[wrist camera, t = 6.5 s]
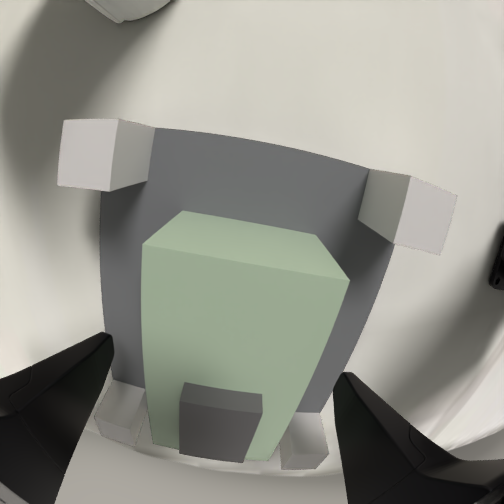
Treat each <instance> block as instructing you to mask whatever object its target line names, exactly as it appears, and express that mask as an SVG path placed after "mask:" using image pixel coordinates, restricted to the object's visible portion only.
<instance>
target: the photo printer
mask: <svg viewBox="0 0 504 504" xmlns="http://www.w3.org/2000/svg"><path fill="white" fill-rule="evenodd" d="M85 1H86V2H87V3H89V4H90V5H91V6H93V7H94V8H95V9H97V10H98V11H99V12H101V13H102V14H103V15H105V16H106V17H108V18H109V19H111V20H112V21H114V22H116V23H122V22H123V21H124V20H129V21H132V20H136V19H139V18H142V17H145V16H147V15H149V14H151V13H153V12H155V11H157V10H158V9H160V8H162V7H163V6H164V5H166V4H167V3H168V2H169V1H171V0H85Z"/></svg>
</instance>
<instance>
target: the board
mask: <svg viewBox="0 0 504 504" xmlns="http://www.w3.org/2000/svg"><path fill="white" fill-rule="evenodd" d="M349 282H350V280H349V279H348V277H347V276H346V274H345V273H344V272H343V270H342V269H341V268H340V266H339V265H338V264H337V262H336V261H335V260H334V258H333V257H332V256H331V254H330V253H329V252H328V250H327V249H326V248H325V246H324V245H323V244H322V242H321V241H320V240H319V238H318V237H317V236H316V235H314V234H309V233H304V232H299V231H294V230H289V229H284V228H278V227H273V226H268V225H262V224H257V223H252V222H246V221H241V220H235V219H229V218H224V217H218V216H212V215H206V214H200V213H194V212H188V211H181V212H180V213H179V214H178V215H176V216H175V217H174V218H173V219H172V220H170V221H169V222H168V223H167V224H165V225H164V226H163V227H162V228H161V229H159V230H158V231H157V232H156V233H155V234H154V235H152V236H151V237H150V238H149V239H148V240H147V241H145V242H144V243H143V244H142V267H141V326H142V349H143V364H144V377H145V387H146V397H147V405H148V413H149V421H150V427H151V434H152V440H153V444H157V445H161V446H165V447H169V448H174V449H178V450H179V454H184V455H189V456H195V457H200V458H207V459H213V460H220V461H229V462H238V463H243V461H244V459H245V460H259V461H269V459H270V457H271V455H272V454H273V452H274V450H275V448H276V447H277V445H278V443H279V441H280V440H281V438H282V436H283V434H284V432H285V430H286V428H287V427H288V425H289V423H290V421H291V419H292V417H293V415H294V413H295V411H296V409H297V407H298V405H299V403H300V401H301V399H302V397H303V395H304V393H305V391H306V389H307V386H308V384H309V382H310V380H311V378H312V376H313V373H314V371H315V369H316V367H317V364H318V362H319V360H320V357H321V355H322V353H323V350H324V348H325V346H326V343H327V341H328V338H329V336H330V333H331V331H332V328H333V326H334V323H335V321H336V318H337V315H338V313H339V310H340V307H341V305H342V302H343V299H344V296H345V293H346V291H347V288H348V285H349Z"/></svg>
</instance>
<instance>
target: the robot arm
mask: <svg viewBox="0 0 504 504" xmlns="http://www.w3.org/2000/svg"><path fill="white" fill-rule="evenodd" d="M489 284H490V286H492V287H493V288H495V289H499V290H504V237H503V241H502V244H501V247H500V251H499V254H498V257H497V260H496V263H495V265H494V268H493V271H492V274H491V276H490V280H489ZM114 353H115V351H114V343H113V337H112V335H111V334H108V333H105V332H100V333H98V334H96V335H94V336H92V337H90V338H88V339H86V340H84V341H82V342H79V343H77V344H75V345H73V346H71V347H69V348H67V349H65V350H63V351H61V352H59V353H57V354H55V355H53V356H51V357H48V358H46V359H44V360H42V361H40V362H38V363H36V364H34V365H32V366H30V367H28V368H25V369H23V370H21V371H19V372H17V373H14V374H12V375H9V376H7V377H4V378H1V379H0V504H54V503H55V500H56V497H57V495H58V492H59V489H60V486H61V484H62V481H63V478H64V474H65V473H66V470H67V467H68V465H69V462H70V460H71V457H72V455H73V452H74V450H75V448H76V445H77V443H78V441H79V439H80V436H81V434H82V432H83V429H84V427H85V425H86V423H87V421H88V418H89V416H90V414H91V412H92V410H93V408H94V405H95V403H96V401H97V399H98V397H99V395H100V393H101V391H102V388H103V386H104V383H105V380H106V377H107V374H108V372H109V369H110V366H111V363H112V361H113V358H114ZM333 401H334V415H335V426H336V432H337V438H338V443H339V449H340V455H341V461H342V467H343V473H344V479H345V486H346V492H347V499H348V504H504V459H498V460H477V461H467V460H462V459H458V458H456V457H455V456H453V455H451V454H450V453H448V452H447V451H445V450H444V449H443V448H441V447H440V446H438V445H437V444H435V443H434V442H432V441H431V440H430V439H428V438H427V437H426V436H424V435H423V434H422V433H421V432H419V431H418V430H417V429H416V428H415V427H414V426H412V425H410V423H409V422H408V421H407V420H405V419H404V418H403V417H402V416H401V415H400V414H398V413H397V412H396V411H395V410H394V409H393V408H392V407H391V406H389V405H388V404H387V403H386V402H385V401H384V400H383V399H381V398H380V397H379V396H378V395H377V394H376V393H375V392H374V391H372V390H371V389H370V388H369V387H368V386H367V385H366V384H365V383H363V382H362V381H361V380H360V379H359V378H358V377H357V376H356V375H355V374H353V373H352V372H342V373H341V374H340V376H339V378H338V380H337V381H336V383H335V385H334V388H333Z"/></svg>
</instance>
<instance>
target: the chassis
mask: <svg viewBox="0 0 504 504" xmlns="http://www.w3.org/2000/svg"><path fill="white" fill-rule="evenodd" d="M57 186H66V187H75V188H84V189H92V190H101V191H102V192H101V210H100V274H101V292H102V304H103V315H104V324H105V332H106V333H108V334H111V335H112V337H113V343H114V351H115V353H114V358H113V361H112V363H111V370H112V376H113V381H112V383H111V385H110V387H109V388H108V390H107V392H106V394H105V396H104V398H103V400H102V402H101V404H100V406H99V408H98V410H97V412H96V414H95V416H94V418H95V421H96V423H97V426H98V428H99V430H100V433H101V435H102V436H104V437H106V438H109V439H112V440H115V441H118V442H121V443H124V444H127V445H130V446H133V447H135V445H136V442H137V439H138V436H139V433H140V430H141V427H142V424H143V421H144V418H145V415H146V412H147V410H148V405H147V397H146V387H145V377H144V364H143V349H142V326H141V267H142V244H143V243H144V242H145V241H147V240H148V239H149V238H150V237H151V236H152V235H154V234H155V233H156V232H157V231H158V230H159V229H161V228H162V227H163V226H164V225H165V224H167V223H168V222H169V221H170V220H172V219H173V218H174V217H175V216H176V215H178V214H179V213H180V212H181V211H188V212H194V213H200V214H206V215H212V216H218V217H224V218H229V219H235V220H241V221H246V222H252V223H257V224H262V225H268V226H273V227H278V228H284V229H289V230H294V231H299V232H304V233H309V234H314V235H316V236H317V237H318V238H319V240H320V241H321V242H322V244H323V245H324V246H325V248H326V249H327V250H328V252H329V253H330V254H331V256H332V257H333V258H334V260H335V261H336V262H337V264H338V265H339V266H340V268H341V269H342V270H343V272H344V273H345V274H346V276H347V277H348V279H349V280H350V282H349V285H348V288H347V291H346V293H345V296H344V299H343V302H342V305H341V307H340V310H339V313H338V315H337V318H336V321H335V323H334V326H333V328H332V331H331V333H330V336H329V338H328V341H327V343H326V346H325V348H324V350H323V353H322V355H321V357H320V360H319V362H318V364H317V367H316V369H315V371H314V373H313V376H312V378H311V380H310V382H309V384H308V386H307V389H306V391H305V393H304V395H303V397H302V399H301V401H300V403H299V405H298V407H297V409H296V411H295V413H294V415H293V417H292V419H291V421H290V423H289V425H288V427H287V428H286V430H285V432H284V434H283V436H282V438H281V440H280V441H279V444H280V457H281V470H301V469H316V468H317V467H318V466H319V465H320V463H321V462H322V461H323V460H324V459H325V458H326V457H327V455H328V454H329V451H328V447H327V442H326V437H325V433H324V428H323V424H322V419H321V415H320V412H321V410H322V409H323V407H324V405H325V404H326V402H327V400H328V398H329V397H330V395H331V393H332V391H333V388H334V385H335V383H336V381H337V380H338V378H339V376H340V374H341V373H342V372H343V370H344V368H345V366H346V364H347V362H348V360H349V358H350V356H351V354H352V352H353V350H354V348H355V346H356V344H357V341H358V339H359V337H360V335H361V333H362V330H363V328H364V326H365V323H366V321H367V319H368V316H369V314H370V312H371V309H372V307H373V304H374V302H375V299H376V297H377V294H378V291H379V289H380V286H381V284H382V281H383V278H384V275H385V272H386V270H387V267H388V264H389V261H390V258H391V255H392V252H393V249H394V245H395V244H397V245H401V246H405V247H409V248H413V249H417V250H421V251H425V252H429V253H433V254H437V255H441V252H442V249H443V246H444V243H445V240H446V236H447V233H448V230H449V226H450V223H451V219H452V215H453V212H454V208H455V204H456V199H457V195H455V194H453V193H451V192H449V191H446V190H444V189H442V188H439V187H437V186H435V185H432V184H430V183H427V182H425V181H423V180H420V179H417V178H415V177H412V176H409V175H403V174H398V173H392V172H386V171H380V170H374V169H368V168H365V167H362V166H359V165H355V164H352V163H348V162H345V161H341V160H338V159H334V158H330V157H327V156H323V155H319V154H315V153H311V152H307V151H303V150H298V149H294V148H289V147H285V146H280V145H275V144H270V143H265V142H260V141H255V140H249V139H243V138H237V137H231V136H225V135H218V134H211V133H203V132H195V131H186V130H176V129H165V128H155V127H151V126H147V125H143V124H139V123H134V122H130V121H126V120H122V119H71V120H64V123H63V130H62V137H61V145H60V154H59V164H58V178H57Z"/></svg>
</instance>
